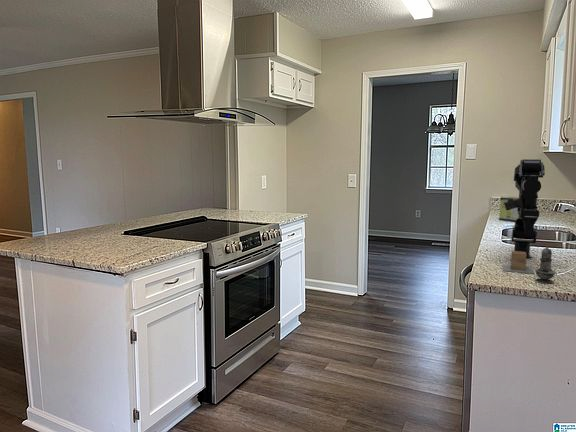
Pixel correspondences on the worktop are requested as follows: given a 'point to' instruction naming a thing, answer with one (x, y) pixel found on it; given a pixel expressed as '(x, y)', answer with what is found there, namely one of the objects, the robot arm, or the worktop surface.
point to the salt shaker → (545, 267)
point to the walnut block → (518, 260)
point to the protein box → (510, 214)
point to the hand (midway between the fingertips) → (526, 232)
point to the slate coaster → (527, 270)
